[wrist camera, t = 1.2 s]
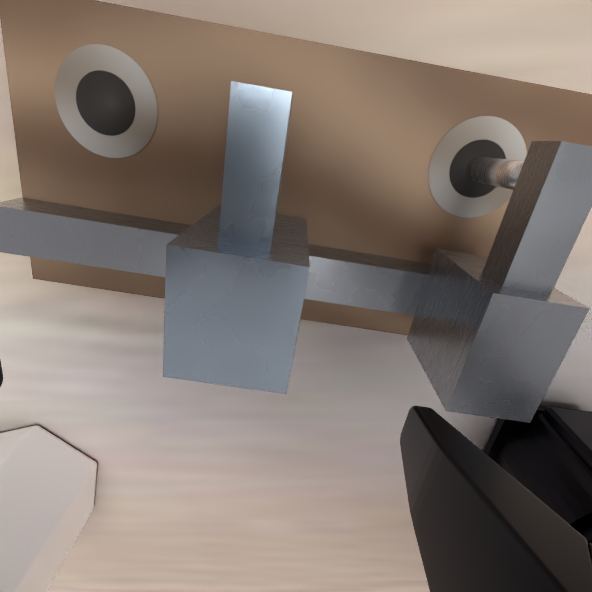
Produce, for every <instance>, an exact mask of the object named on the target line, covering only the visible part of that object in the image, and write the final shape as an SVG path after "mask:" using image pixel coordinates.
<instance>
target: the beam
mask: <svg viewBox="0 0 592 592" xmlns="http://www.w3.org/2000/svg"><path fill="white" fill-rule="evenodd" d="M466 174H467V177H468V178H469V179H470V180H472V181H475V182H479V183H484V184H488V185H493V186H497V187H502V188H506V189H511V190H513V192H512V195H511V198H510V200H509V203H508V205H507V208H506V211H505V213H504V216H503V219H502V221H501V224H500V227H499V229H498V232H497V234H496V237H495V240H494V242H493V245H492V248H491V250H490V253H489V256H488V257H487V256H481V255H475V254H469V253H463V252H457V251H451V250H444V249H438V248H436V249H435V252H434V255H433V258H432V262H431V264H430V263H424V262H418V261H412V260H405V259H399V258H393V257H387V256H381V255H374V254H368V253H362V252H356V251H350V250H344V249H337V248H331V247H325V246H319V245H313V244H308V248H309V263H310V269H309V274H308V279H307V285H306V290H305V296H304V299H309V300H316V301H322V302H329V303H335V304H342V305H348V306H355V307H361V308H368V309H374V310H381V311H387V312H394V313H400V314H407V315H413V316H414V318H413V321H412V324H411V327H410V331H409V334H408V337H407V339H408V341H409V343H410V345H411V347H412V349H413V351H414V352H415V354H416V356H417V358H418V360H419V362H420V364H421V365H422V367H423V369H424V371H425V373H426V375H427V377H428V378H429V380H430V382H431V384H432V386H433V388H434V389H435V391H436V393H437V395H438V397H439V399H440V401H441V402H442V404H443V406H444V408H445V410H446V411H451V412H458V413H465V414H472V415H479V416H486V417H493V418H500V419H507V420H514V421H521V422H528V423H530V422H531V420H532V418H533V416H534V414H535V412H536V410H537V408H538V407H539V405H540V403H541V401H542V399H543V397H544V395H545V393H546V391H547V389H548V387H549V385H550V384H551V382H552V380H553V378H554V376H555V374H556V372H557V370H558V368H559V366H560V364H561V362H562V361H563V359H564V357H565V355H566V353H567V351H568V349H569V347H570V345H571V343H572V341H573V339H574V337H575V336H576V334H577V332H578V330H579V328H580V326H581V324H582V322H583V320H584V318H585V316H586V314H587V313H588V311H589V309H590V308H588V307H586V306H585V305H583V304H581V303H579V302H578V301H576V300H574V299H572V298H571V297H569V296H567V295H565V294H564V293H562V292H560V291H558V290H557V289H555V288H554V286H555V284H556V282H557V280H558V278H559V275H560V273H561V271H562V269H563V267H564V265H565V263H566V260H567V258H568V256H569V254H570V252H571V250H572V248H573V245H574V243H575V241H576V239H577V237H578V235H579V233H580V231H581V228H582V226H583V224H584V222H585V220H586V218H587V216H588V213H589V211H590V209H591V207H592V146H586V145H581V144H575V143H570V142H564V141H532V142H531V145H530V147H529V150H528V153H527V155H526V158H525V161H522V160H509V159H497V158H484V157H478V158H475V159H473V160H472V161H471V162H470V163H469V164H468V166H467V170H466ZM190 226H191V225H189V224H183V223H176V222H170V221H164V220H158V219H152V218H145V217H139V216H133V215H127V214H121V213H115V212H108V211H102V210H96V209H90V208H84V207H77V206H71V205H65V204H59V203H53V202H46V201H40V200H34V199H28V198H19V199H14V200H9V201H4V202H0V252H4V253H10V254H17V255H23V256H30V257H36V258H43V259H49V260H56V261H62V262H69V263H75V264H82V265H88V266H95V267H101V268H108V269H114V270H121V271H127V272H134V273H140V274H147V275H153V276H160V277H165V275H166V244H168V243H169V242H170V241H172V240H173V239H174V238H176V237H177V236H178V235H179V234H181V233H182V232H183V231H185V230H186V229H187V228H189V227H190Z"/></svg>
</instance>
